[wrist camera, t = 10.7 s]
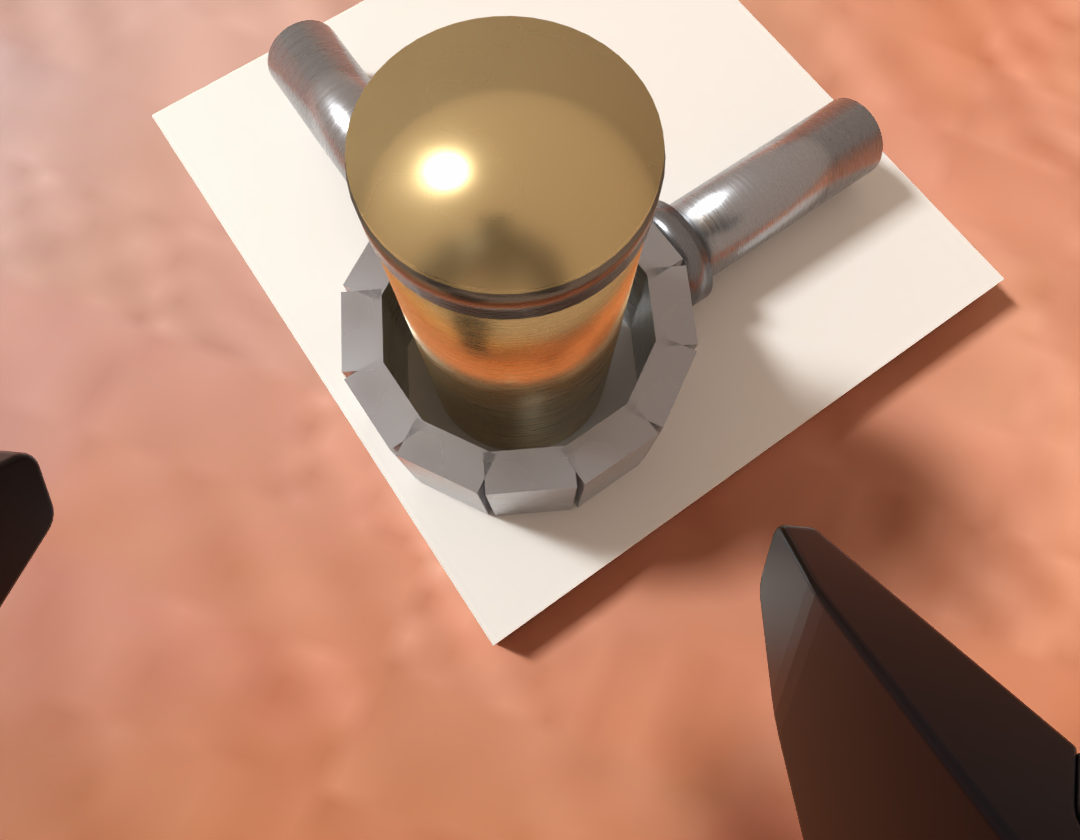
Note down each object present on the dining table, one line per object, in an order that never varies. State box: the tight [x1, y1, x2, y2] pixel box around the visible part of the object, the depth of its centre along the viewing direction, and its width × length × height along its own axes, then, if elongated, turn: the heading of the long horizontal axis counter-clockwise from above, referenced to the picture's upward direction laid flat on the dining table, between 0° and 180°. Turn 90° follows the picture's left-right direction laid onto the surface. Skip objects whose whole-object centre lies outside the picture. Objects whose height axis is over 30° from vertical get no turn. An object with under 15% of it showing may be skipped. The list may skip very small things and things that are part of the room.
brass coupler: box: [345, 16, 666, 450], centre depth 16 cm, size 5×5×10 cm
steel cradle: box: [268, 20, 883, 516], centre depth 21 cm, size 16×16×4 cm
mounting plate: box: [152, 0, 1004, 646], centre depth 23 cm, size 20×18×1 cm
